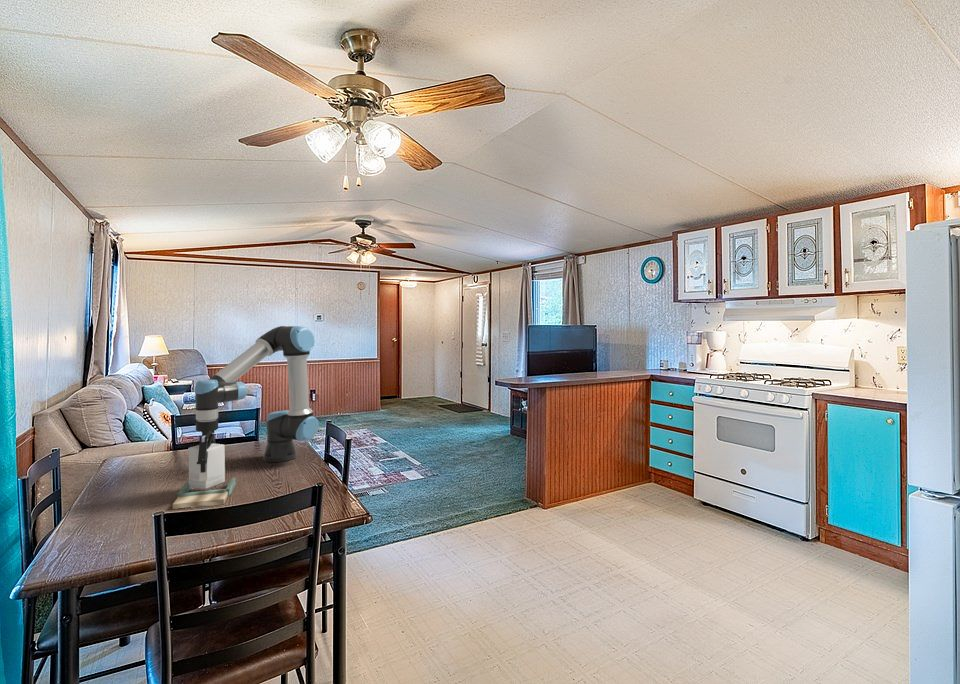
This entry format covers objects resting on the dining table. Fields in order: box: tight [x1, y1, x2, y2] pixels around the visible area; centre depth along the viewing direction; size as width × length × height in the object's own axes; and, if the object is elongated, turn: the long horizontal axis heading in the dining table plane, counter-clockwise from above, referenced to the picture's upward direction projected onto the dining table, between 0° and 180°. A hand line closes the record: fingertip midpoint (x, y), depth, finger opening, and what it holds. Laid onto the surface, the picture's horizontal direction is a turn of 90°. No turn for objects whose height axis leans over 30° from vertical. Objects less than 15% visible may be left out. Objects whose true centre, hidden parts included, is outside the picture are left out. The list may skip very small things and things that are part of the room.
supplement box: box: [187, 443, 226, 490], centre depth 181 cm, size 9×9×15 cm
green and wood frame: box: [172, 476, 237, 510], centre depth 178 cm, size 17×22×3 cm
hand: (207, 475), depth 181 cm, fingers closed on supplement box, 12 cm apart
